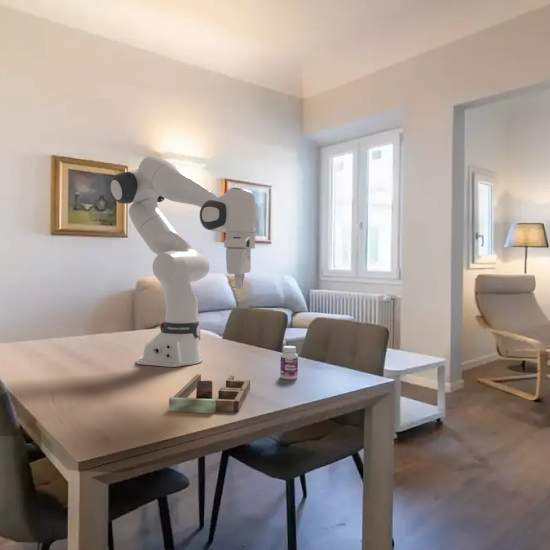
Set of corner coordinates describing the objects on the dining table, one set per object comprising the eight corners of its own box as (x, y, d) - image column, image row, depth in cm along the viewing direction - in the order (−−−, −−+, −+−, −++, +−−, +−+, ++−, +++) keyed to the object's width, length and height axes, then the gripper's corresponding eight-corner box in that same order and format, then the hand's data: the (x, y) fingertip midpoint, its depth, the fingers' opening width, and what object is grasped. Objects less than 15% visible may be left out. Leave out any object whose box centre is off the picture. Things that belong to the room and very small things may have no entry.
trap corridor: (168, 411, 111) (169, 398, 110) (196, 382, 136) (196, 372, 136) (237, 414, 109) (237, 401, 109) (252, 384, 135) (252, 374, 135)
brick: (197, 397, 122) (197, 380, 122) (212, 397, 123) (212, 380, 123) (195, 411, 112) (195, 391, 111) (212, 410, 112) (212, 391, 112)
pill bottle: (285, 380, 141) (285, 348, 140) (277, 376, 145) (277, 345, 145) (300, 378, 143) (301, 347, 143) (292, 374, 148) (292, 344, 147)
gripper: (236, 243, 150) (235, 286, 150) (222, 240, 130) (221, 290, 130) (255, 243, 149) (254, 286, 150) (245, 241, 129) (243, 291, 129)
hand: (239, 288), depth 140 cm, fingers closed
